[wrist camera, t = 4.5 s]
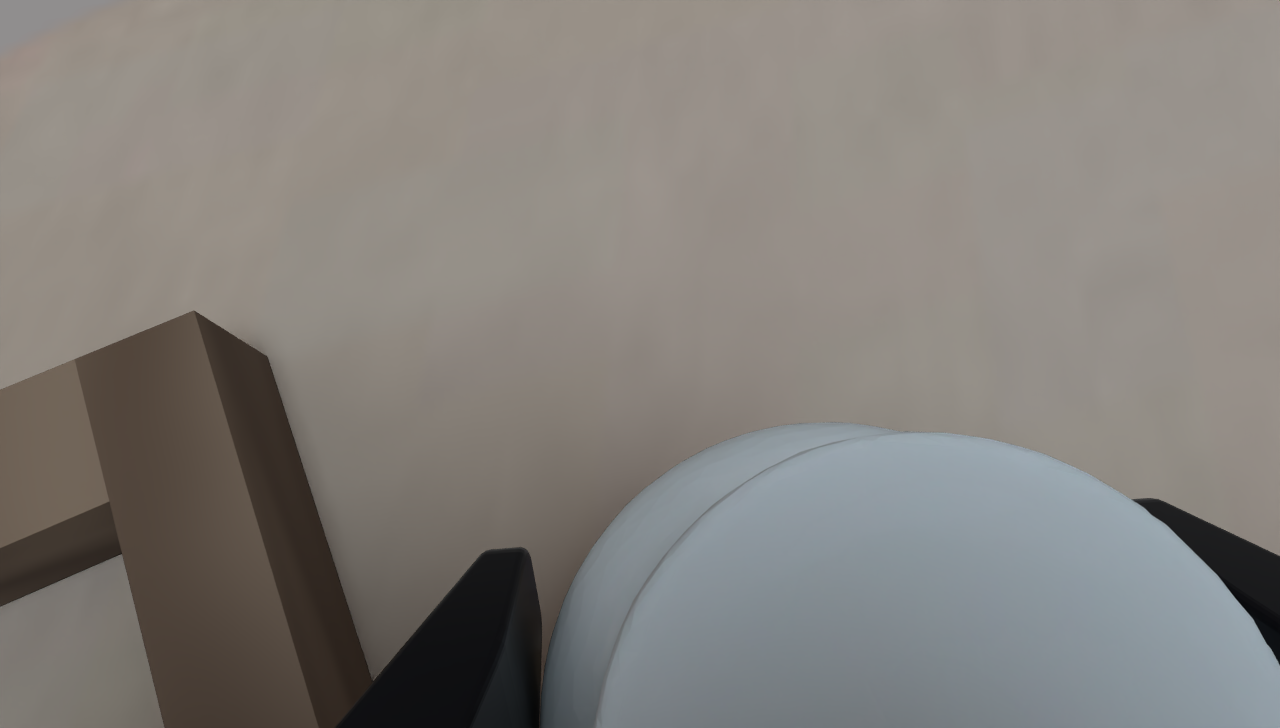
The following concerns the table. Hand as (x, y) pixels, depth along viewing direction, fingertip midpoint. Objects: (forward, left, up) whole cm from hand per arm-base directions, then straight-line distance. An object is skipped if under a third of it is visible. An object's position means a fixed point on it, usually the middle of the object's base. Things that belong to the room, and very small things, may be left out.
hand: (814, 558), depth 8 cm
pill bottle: (-1, -1, -7) cm, 7 cm away
